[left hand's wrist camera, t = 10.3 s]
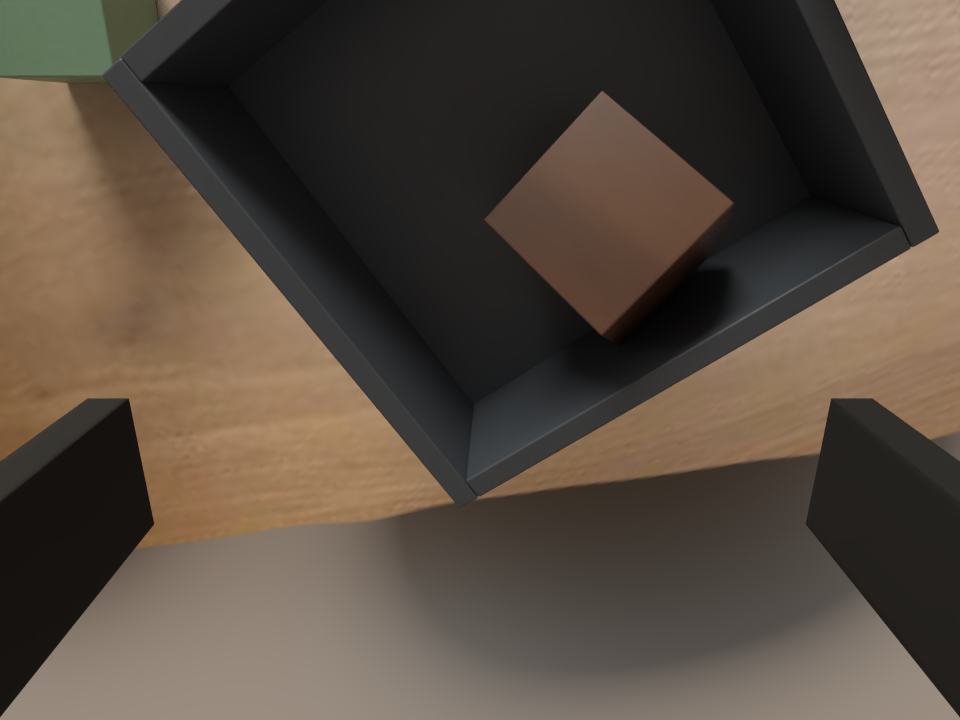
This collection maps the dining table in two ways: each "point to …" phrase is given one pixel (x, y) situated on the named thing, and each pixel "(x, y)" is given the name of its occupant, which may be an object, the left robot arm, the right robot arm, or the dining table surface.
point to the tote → (498, 168)
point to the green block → (69, 37)
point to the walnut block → (612, 219)
